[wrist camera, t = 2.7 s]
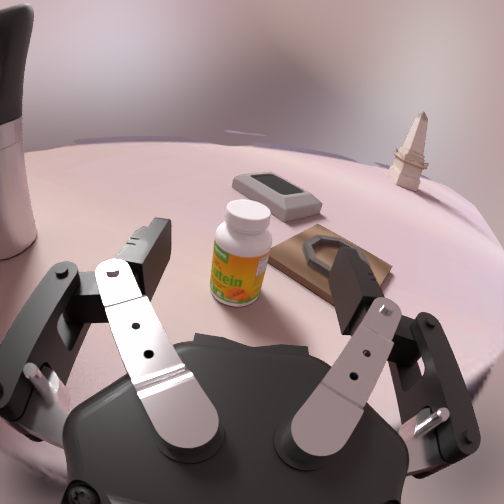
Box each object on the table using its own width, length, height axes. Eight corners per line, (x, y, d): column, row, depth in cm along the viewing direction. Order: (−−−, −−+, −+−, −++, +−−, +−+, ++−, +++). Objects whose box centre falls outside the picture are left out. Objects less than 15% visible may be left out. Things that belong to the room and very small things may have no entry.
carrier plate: (355, 320, 28) (363, 307, 27) (262, 258, 35) (265, 245, 34) (389, 271, 38) (395, 261, 37) (316, 229, 45) (319, 218, 44)
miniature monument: (417, 192, 86) (441, 119, 69) (395, 184, 86) (418, 107, 69) (407, 183, 94) (428, 115, 78) (385, 175, 94) (406, 104, 78)
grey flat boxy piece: (288, 204, 43) (234, 171, 52) (283, 224, 45) (231, 189, 54) (324, 198, 48) (270, 168, 57) (318, 215, 50) (267, 184, 59)
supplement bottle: (199, 292, 28) (205, 208, 23) (226, 268, 32) (238, 191, 27) (244, 316, 27) (262, 231, 21) (267, 287, 31) (287, 209, 25)
